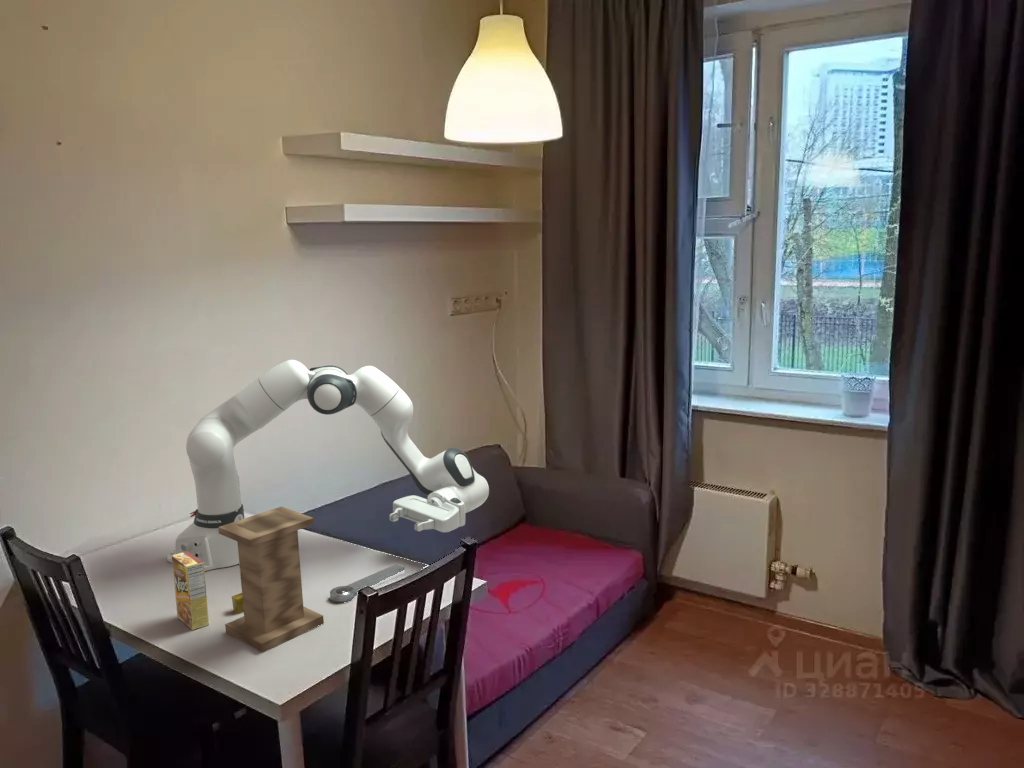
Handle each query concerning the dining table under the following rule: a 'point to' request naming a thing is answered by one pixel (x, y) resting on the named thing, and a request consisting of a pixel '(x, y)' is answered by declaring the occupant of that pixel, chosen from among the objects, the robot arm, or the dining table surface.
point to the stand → (270, 578)
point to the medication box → (237, 603)
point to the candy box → (190, 590)
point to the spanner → (362, 584)
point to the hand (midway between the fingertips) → (403, 523)
